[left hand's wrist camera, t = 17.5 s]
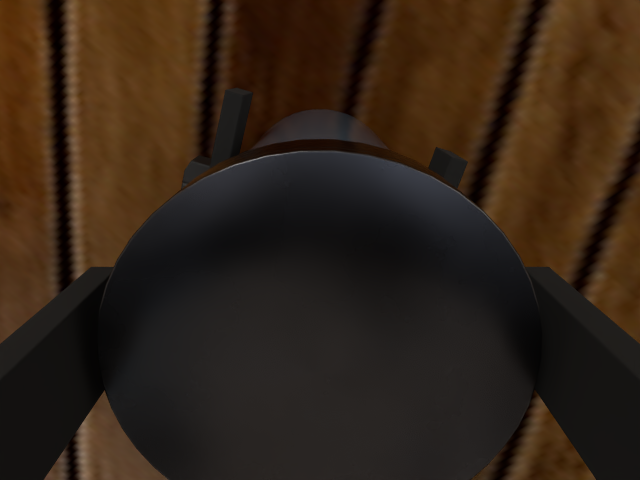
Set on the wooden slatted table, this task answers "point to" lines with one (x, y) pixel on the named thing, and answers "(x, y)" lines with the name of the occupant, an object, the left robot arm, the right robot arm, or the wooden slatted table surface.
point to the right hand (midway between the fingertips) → (347, 123)
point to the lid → (319, 323)
